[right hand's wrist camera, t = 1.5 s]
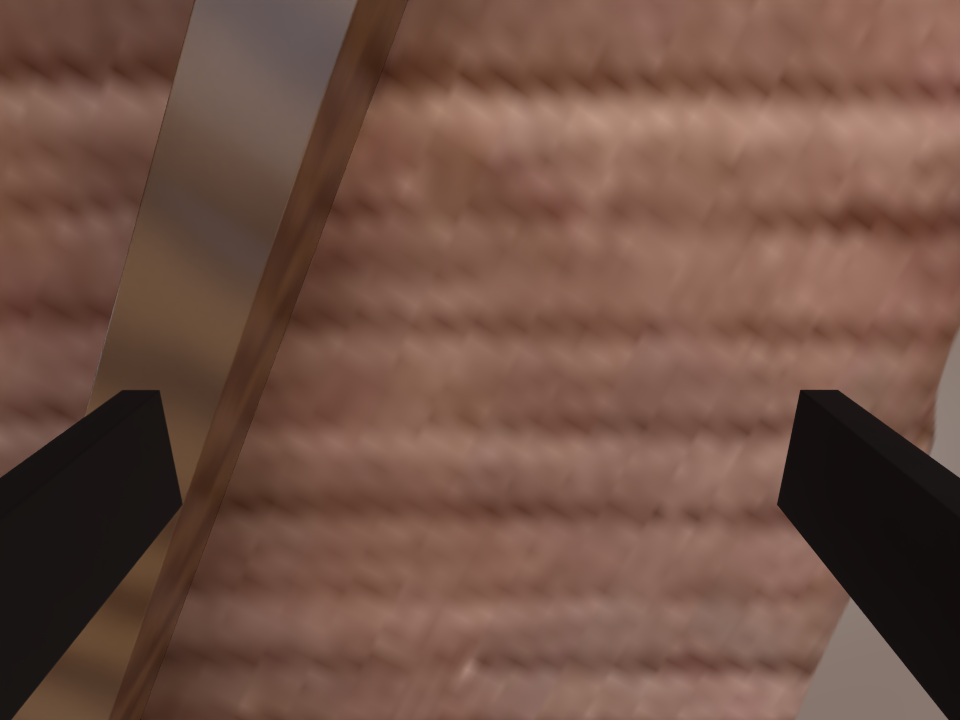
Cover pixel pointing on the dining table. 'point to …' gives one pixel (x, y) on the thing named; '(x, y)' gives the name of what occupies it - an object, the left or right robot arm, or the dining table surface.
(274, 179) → the bar
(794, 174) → the dining table surface
